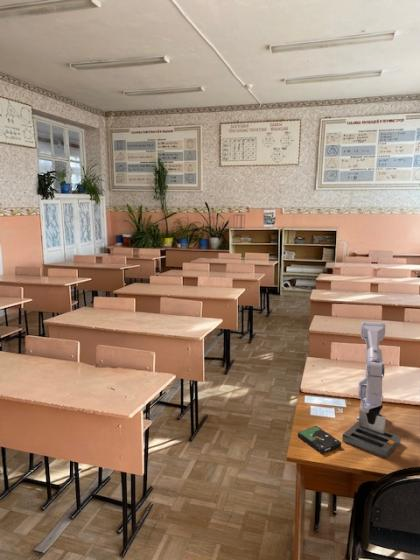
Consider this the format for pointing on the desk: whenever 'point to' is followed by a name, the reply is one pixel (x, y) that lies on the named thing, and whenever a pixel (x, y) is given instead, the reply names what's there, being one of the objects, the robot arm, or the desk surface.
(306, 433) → the disk drive
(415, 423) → the desk surface
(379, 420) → the steel panel
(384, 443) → the rack block
